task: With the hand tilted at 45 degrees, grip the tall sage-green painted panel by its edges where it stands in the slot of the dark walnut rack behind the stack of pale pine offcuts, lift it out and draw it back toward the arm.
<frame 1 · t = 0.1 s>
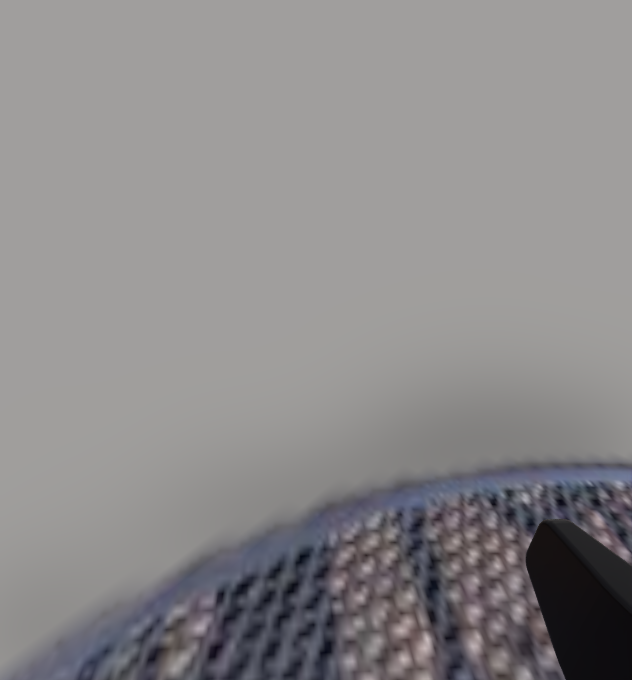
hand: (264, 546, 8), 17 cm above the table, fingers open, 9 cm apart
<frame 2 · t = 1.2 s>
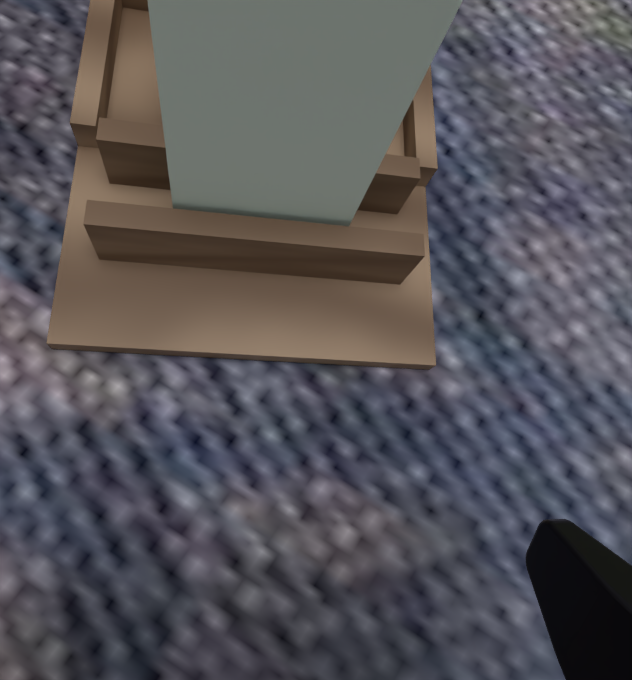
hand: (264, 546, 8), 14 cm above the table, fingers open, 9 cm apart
sage panel: (259, 225, 24), point 1 cm above the table, touching walnut rack
walnut rack: (259, 186, 26), on the table
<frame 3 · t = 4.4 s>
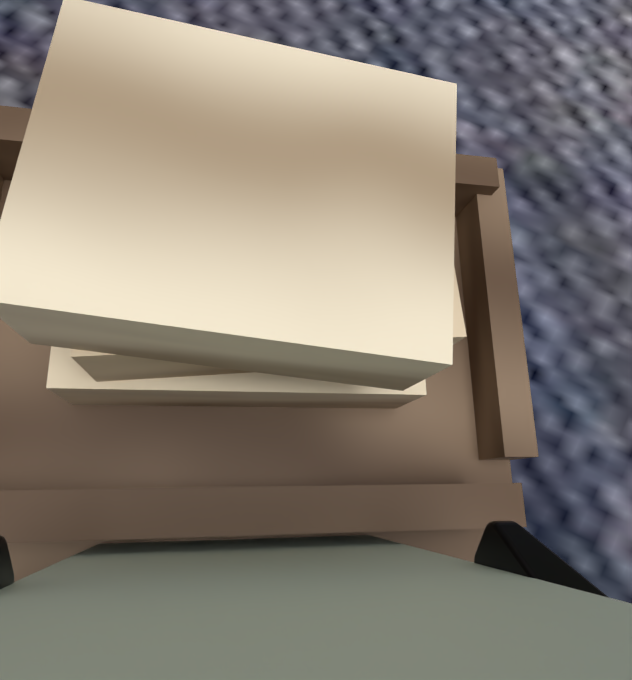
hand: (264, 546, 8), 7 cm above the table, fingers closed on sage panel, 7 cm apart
sage panel: (238, 580, 14), point 1 cm above the table, touching gripper, walnut rack
offcut stack: (244, 305, 16), point 1 cm above the table, touching walnut rack
walnut rack: (239, 480, 15), on the table
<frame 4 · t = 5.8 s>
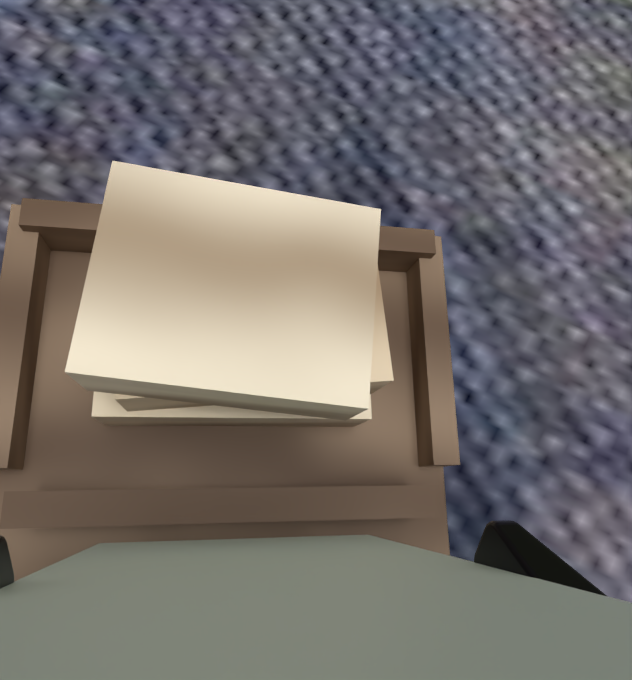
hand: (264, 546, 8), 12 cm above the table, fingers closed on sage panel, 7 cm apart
sage panel: (238, 579, 14), point 6 cm above the table, touching gripper
offcut stack: (236, 347, 21), point 1 cm above the table, touching walnut rack
walnut rack: (232, 482, 20), on the table
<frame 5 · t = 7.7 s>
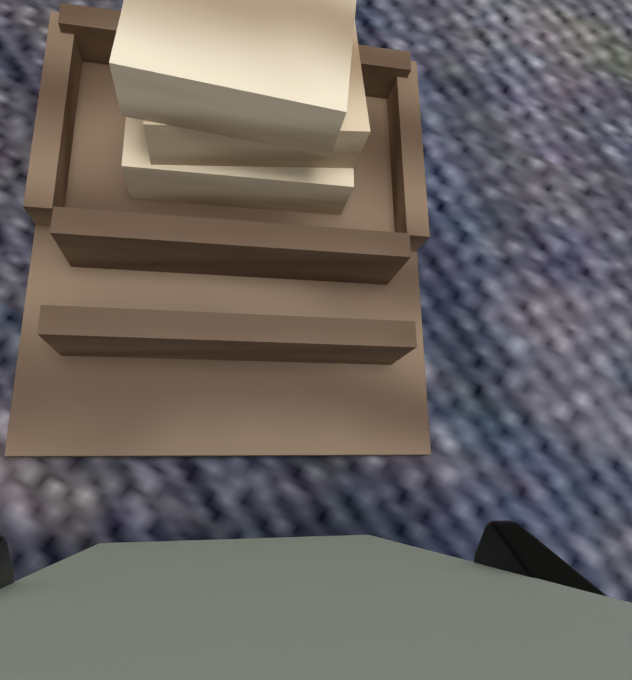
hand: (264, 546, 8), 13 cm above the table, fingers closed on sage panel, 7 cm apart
sage panel: (239, 579, 14), point 7 cm above the table, touching gripper
offcut stack: (240, 146, 24), point 1 cm above the table, touching walnut rack
walnut rack: (237, 257, 24), on the table
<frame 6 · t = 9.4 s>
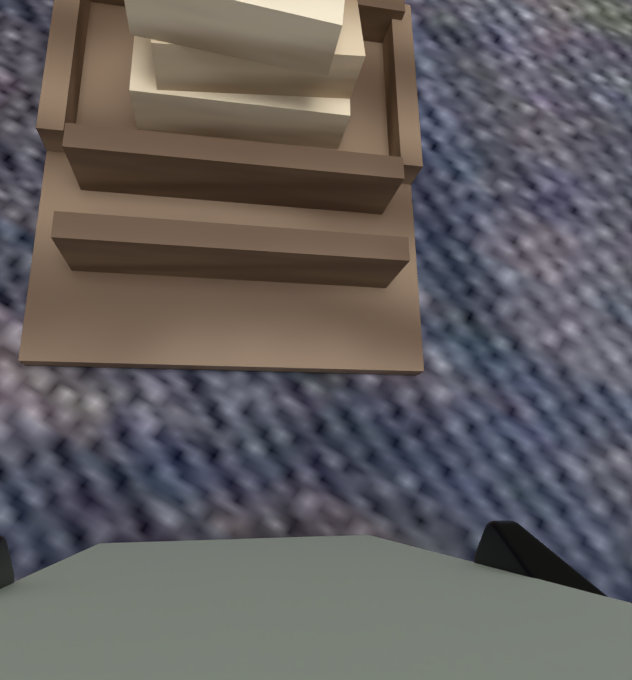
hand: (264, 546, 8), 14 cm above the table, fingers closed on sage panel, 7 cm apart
sage panel: (239, 580, 14), point 7 cm above the table, touching gripper
offcut stack: (242, 83, 25), point 1 cm above the table, touching walnut rack
walnut rack: (238, 188, 25), on the table
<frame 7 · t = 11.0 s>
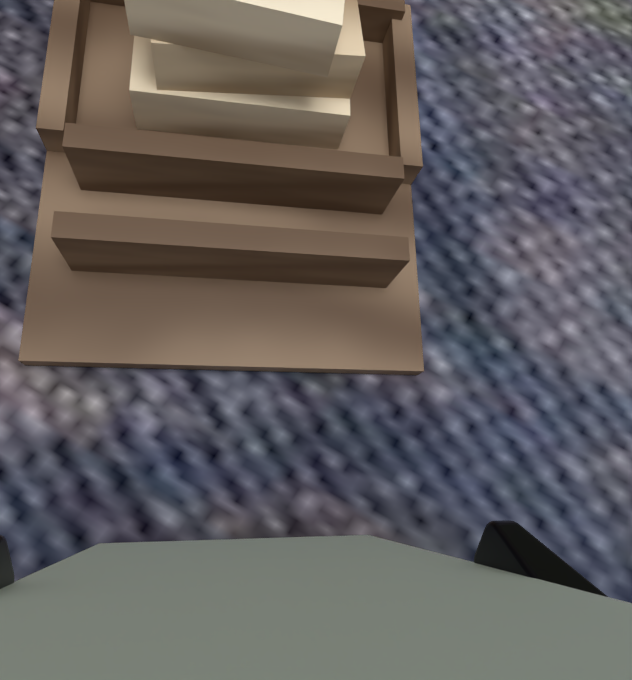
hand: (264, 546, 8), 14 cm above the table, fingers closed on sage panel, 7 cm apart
sage panel: (239, 580, 14), point 7 cm above the table, touching gripper
offcut stack: (242, 83, 25), point 1 cm above the table, touching walnut rack
walnut rack: (238, 188, 25), on the table
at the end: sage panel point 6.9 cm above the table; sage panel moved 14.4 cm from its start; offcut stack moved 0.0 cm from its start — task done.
